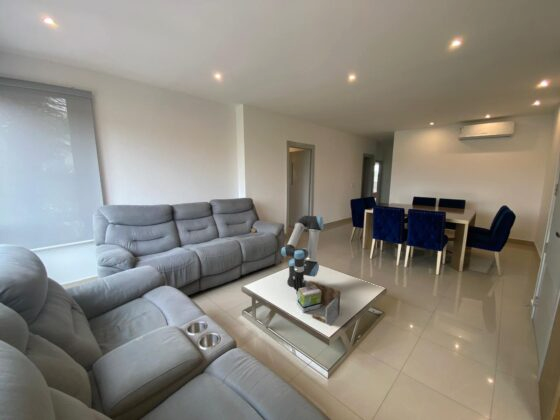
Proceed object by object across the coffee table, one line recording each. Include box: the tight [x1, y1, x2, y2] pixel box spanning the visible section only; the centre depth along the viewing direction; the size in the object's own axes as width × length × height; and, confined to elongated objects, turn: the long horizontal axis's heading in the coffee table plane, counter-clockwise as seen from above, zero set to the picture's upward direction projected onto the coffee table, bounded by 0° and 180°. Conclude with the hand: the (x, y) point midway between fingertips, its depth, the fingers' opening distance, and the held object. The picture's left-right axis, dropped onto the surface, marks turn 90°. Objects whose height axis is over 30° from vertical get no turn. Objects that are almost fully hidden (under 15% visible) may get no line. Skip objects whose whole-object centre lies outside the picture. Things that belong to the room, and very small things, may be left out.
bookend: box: [324, 296, 342, 326], centre depth 162 cm, size 4×18×12 cm, turn 141°
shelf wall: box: [308, 280, 341, 324], centre depth 170 cm, size 26×19×16 cm
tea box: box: [296, 285, 322, 313], centre depth 174 cm, size 15×10×15 cm, turn 114°
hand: (298, 298), depth 181 cm, fingers closed
